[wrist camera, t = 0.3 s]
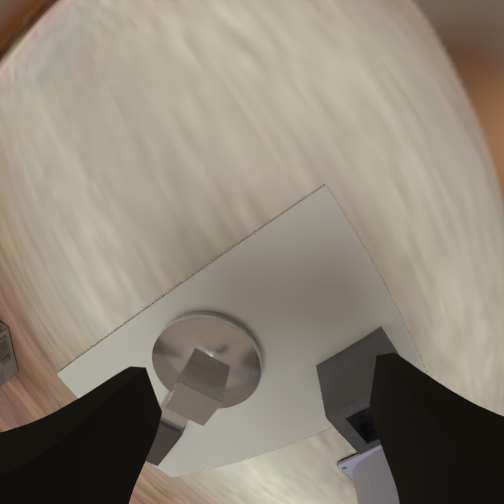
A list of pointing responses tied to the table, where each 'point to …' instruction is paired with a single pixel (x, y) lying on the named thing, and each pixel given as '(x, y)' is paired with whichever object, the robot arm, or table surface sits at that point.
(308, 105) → the table surface
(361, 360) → the socket
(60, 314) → the table surface
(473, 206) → the table surface
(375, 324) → the mat
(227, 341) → the ratchet
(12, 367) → the coffee box
